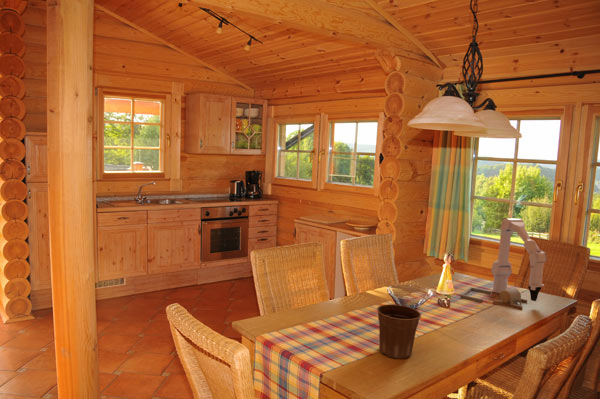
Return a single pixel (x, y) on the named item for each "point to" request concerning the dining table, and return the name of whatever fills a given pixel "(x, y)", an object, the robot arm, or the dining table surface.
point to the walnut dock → (510, 304)
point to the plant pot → (397, 330)
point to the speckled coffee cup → (511, 296)
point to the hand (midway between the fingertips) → (533, 300)
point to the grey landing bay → (474, 297)
